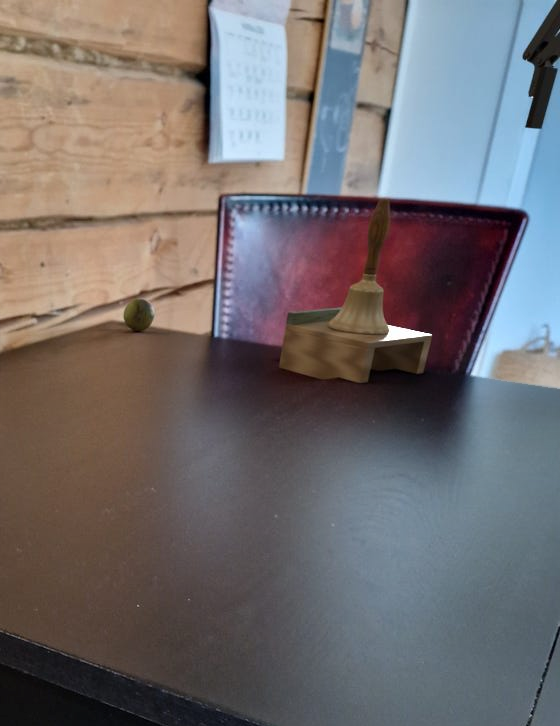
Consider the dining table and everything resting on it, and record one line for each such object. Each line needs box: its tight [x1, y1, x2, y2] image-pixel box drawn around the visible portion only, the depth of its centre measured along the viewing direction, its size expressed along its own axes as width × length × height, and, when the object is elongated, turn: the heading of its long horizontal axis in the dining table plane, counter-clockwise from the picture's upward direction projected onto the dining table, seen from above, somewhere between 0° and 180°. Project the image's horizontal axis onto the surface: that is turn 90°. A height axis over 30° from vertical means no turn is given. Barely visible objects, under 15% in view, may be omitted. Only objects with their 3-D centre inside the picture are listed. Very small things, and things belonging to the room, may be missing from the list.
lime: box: [122, 298, 155, 332], centre depth 139 cm, size 4×5×5 cm
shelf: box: [278, 306, 433, 384], centre depth 119 cm, size 14×14×8 cm
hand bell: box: [328, 198, 391, 335], centre depth 114 cm, size 8×8×16 cm
